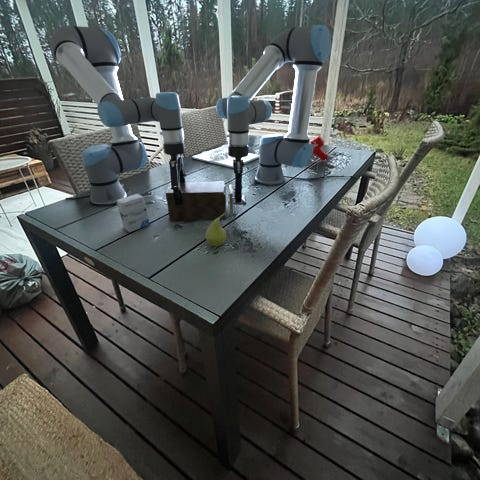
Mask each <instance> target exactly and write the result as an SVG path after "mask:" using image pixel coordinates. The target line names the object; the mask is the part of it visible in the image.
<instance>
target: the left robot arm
mask: <svg viewBox="0 0 480 480" xmlns="http://www.w3.org/2000/svg"><path fill="white" fill-rule="evenodd" d="M49 43H50V44H49V45H50V52H51V54H52V56H53V58H54V59H55V61H56V62H57V64H58V65H59V66H60V67H61V68H62V69H64V70H65V71H68V72H69V74H70V75H71V76H72V77H73V78H74V79H75V81H76V82H77V83H78V84H79V85H80V86H81V88H83V90H84V91H85V92H86V93H87V94H88V96H89V97H90V98H91V99H92V101H93V102H94V103H95V104H96V105H97V107H96V109H97V115H98V118H99V119H100V122H101V123H102V124H103V126H105V127H106V128H109V130H110V133H111V136H112V139H111V140H110V145H109V144H105V143H103V144H96V145H92V146H89V147H87V148H86V149H84V150H83V151H82V152H81V160H82V165H83V166H84V169H85V172H86V176H87V178H88V181H89V185H90V194H88V195H83V196H78V197H65V201H76V200H77V201H78V200H82V199H87V198H89V199H90V203H91V204H92V205H93V206H97V207H108V206H114V205H117V201H116V200H118V199H122V198H125V197H128V195H127V192H126V190H125V189H124V183H120V180H119V177H118V175H120V174H124V173H128V172H131V171H136V170H139V169H142V168H143V167H145V166H146V164H147V162H148V152H147V150H146V147H145V145H144V144H143V142H141V141H139V139H138V137H136V136H135V135H134V134H133V130H132V127H131V125H136V124H143V123H151V122H158V123H159V127H160V128H159V129H160V131H159V135H160V136H161V140H162V142H163V143H162V147H163V153H164V154H165V155H167V156H168V155H169V156H170V158H169V161H168V166H169V176H170V183H171V188H170V189H171V190H173V193H174V200H175V205H183V202H182V195H181V188H180V182H186V178H187V173H186V170H185V164H184V160H183V154H185V153H186V145H185V141H184V140H185V134H184V128H183V119H182V109H181V107H182V105H181V104H180V103H181V102H180V97H179V94H178V93H177V92H174V91H161V92H156V93H155V97H152V96H141V97H140V98H131V99H130V98H129V99H124V98H123V97H124V96H123V94H122V90H121V87H120V83H119V80H118V75H117V72H118V70H119V64H120V62H121V60H122V57H121V50H120V49H121V48H120V45H119V43H118V41H117V39H116V37H115V36H114V34H112V33H111V31H110V30H108V29H106V28H101V27H97V26H81V25H80V26H78V25H77V26H76V25H70V24H66V25H61V26H59V27H57V28H56V29H55V30H54V31H53V32H52V34H51V37H50V42H49Z"/></svg>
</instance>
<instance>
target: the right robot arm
mask: <svg viewBox="0 0 480 480" xmlns="http://www.w3.org/2000/svg"><path fill="white" fill-rule="evenodd" d="M331 51H332V36H331V33H330V29H329V28H328V26H326V25H324V24H313V25H303V26H293V27H290V28H287V29H285V30H283V31H281V32H280V33H279V34H278V35H276V36H275V37H274V38H273V39H271V41H269V43H268V44H267V46H266V47H265V48H264V50H263V54H262V55H261V56H260V58H259V59H258V60H257V62H256V63H255V64H254V65H253V67H251V69H250V70H249V71H248V73H246V75H245V76H244V77H243V79H242V80H241V81H240V82H239V83H238V84H237V86H236V87H235V88H234V89H233V90H232V92H231V93H230V94H229V95H228V96H227V97H226V96H225V97H221V98H219V99H218V100H217V102H216V105H215V107H216V108H215V111H216V114H217V115H218V117H219V118H221V119H224V120H227V134H226V135H225V137H226V138H227V143H228V144H227V145H228V155H229V156H230V157H235V159H233V166H234V168H233V174H234V187H232V191H234V197H235V199H234V203H240V202H242V196H243V188H244V185H243V172H244V167H245V164H244V161H243V159H242V157H246V156H248V153H250V152H249V149H250V148H249V146H250V145H248V144H250V126H251V125H255V124H256V125H257V124H263V123H264V122H268V121H269V120H270V119H271V117H272V114H273V106H272V105H271V103H270V102H269V101H268V100H267V99H257V100H255V99H254V98H255V97H256V95H257V94H258V93H259V91H260V90H261V89H262V88H263V86H264V85H265V84H266V82H268V80H269V79H270V78H271V77H272V75H273V74H274V73H275V71H276V70H279V69H280V68H282V67H283V65H284V64H287V63H292V64H293V65H292V67H293V68H294V70H295V78H294V85H293V94H292V100H291V101H292V103H291V109H290V116H289V124H288V132H287V133H286V134H285V135H284V134H283V133H271V134H266V135H263V136H261V137H260V139H259V153H258V155H259V158H258V167H257V171H256V174H255V177H254V181H255V183H258V184H259V185H262V186H263V185H264V186H279V185H281V184H283V183H284V181H285V178H286V179H287V178H288V179H294V180H300V181H301V180H302V181H312V180H313V181H314V180H319V179H324V178H346V177H347V176H344V175H324V176H318V177H311V178H305V177H304V178H303V177H294V176H289V175H287V176H286V175H284V172H283V171H284V170H283V167H282V165H284V166H289V167H292V168H298V169H302V168H304V167H305V166H307V165H308V163H309V162H310V161H311V158H312V157H311V156H312V153H313V145H312V144H311V143H309V142H310V141H311V137H310V136H309V134H308V131H309V126H310V119H311V115H312V114H311V113H312V108H313V107H312V106H313V101H314V94H315V89H316V84H317V83H316V82H317V76H318V73H319V71H320V70H321V69H322V68H323V63H324V62H326V61H328V59H329V57H330V55H331ZM348 177H349V178H351V179H354V176H352V175H351V176H348ZM241 205H242V204H235V206H241ZM242 206H243V205H242Z"/></svg>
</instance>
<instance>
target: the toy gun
mask: <svg viewBox="0 0 480 480" xmlns="http://www.w3.org/2000/svg"><path fill="white" fill-rule="evenodd" d="M309 143H311V144H312V145H313V153H312V156H311V158H314V157H318V158H319V159H320V160H321V163H324V161H322V160H325V159H326V161H327V160H328V158H329V154H328V152H326V151H325V150H323V148H322V147H324V145H325V141H324V139H323V138H322V137H321V135H318V136H316V137H315V138H313V139H311V140H310V141H309Z"/></svg>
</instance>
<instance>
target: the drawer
mask: <svg viewBox="0 0 480 480" xmlns="http://www.w3.org/2000/svg"><path fill="white" fill-rule="evenodd" d="M226 189H227V187H226V185H224V203H225V211H226V212H227V191H226ZM228 189H229V190H228V191H229V192H228V193H229V217H230V218H231V217H234V205H235V204H242V206H243V207H245V206H247V197H246V195H245V194H242V202H240V203H235V202H234V200H235V196H233V194H234V193H233V183H229V184H228ZM235 206H236V205H235ZM226 215H227V213H226V214H225V216H226Z"/></svg>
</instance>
